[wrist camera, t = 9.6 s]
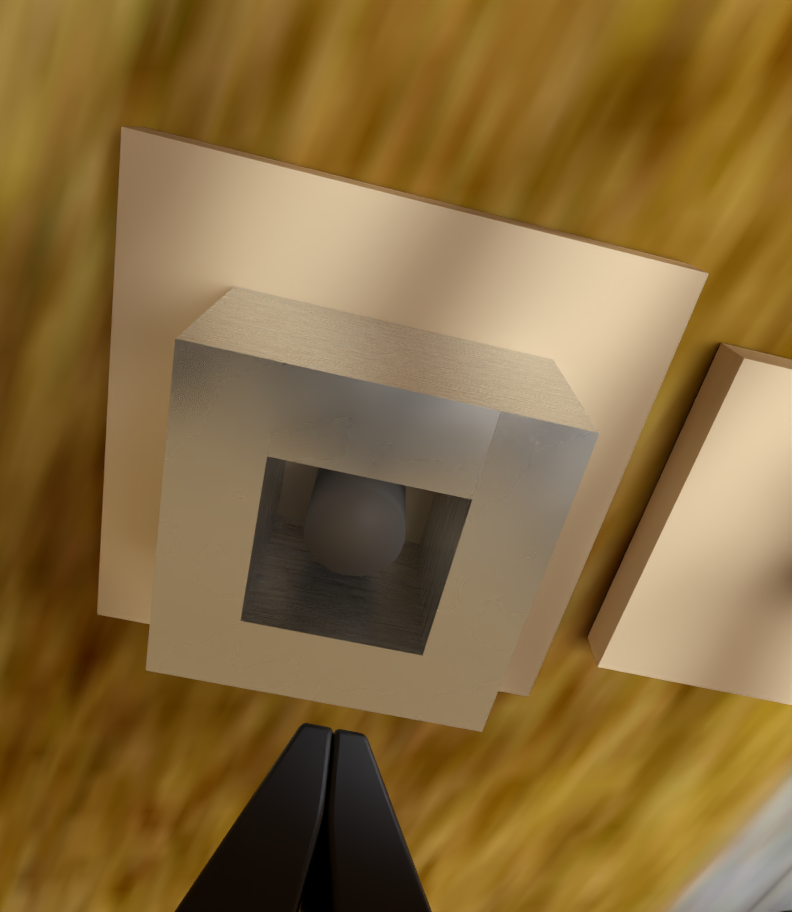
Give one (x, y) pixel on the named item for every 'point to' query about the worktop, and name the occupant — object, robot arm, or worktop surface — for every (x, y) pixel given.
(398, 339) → the collar
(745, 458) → the stand
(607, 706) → the worktop surface
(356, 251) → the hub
